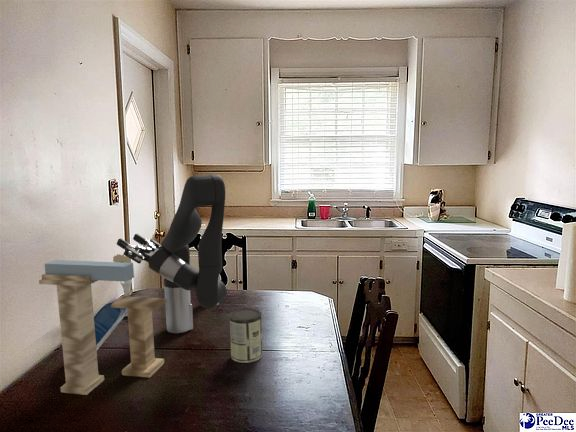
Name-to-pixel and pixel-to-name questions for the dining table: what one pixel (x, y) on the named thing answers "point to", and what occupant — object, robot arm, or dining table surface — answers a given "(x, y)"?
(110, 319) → the blue food package
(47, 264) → the bar
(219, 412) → the dining table surface
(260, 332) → the coffee can
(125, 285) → the flower in vase
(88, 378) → the tall stand
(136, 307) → the short wooden pedestal
